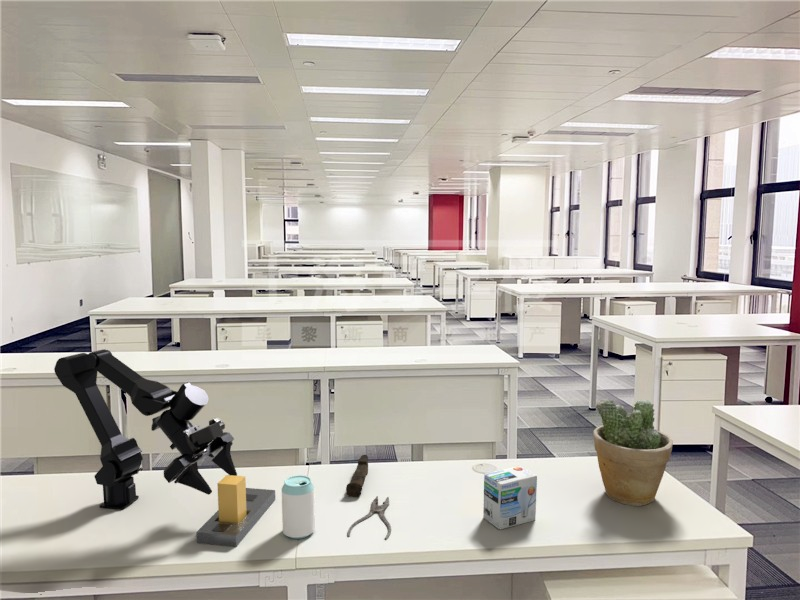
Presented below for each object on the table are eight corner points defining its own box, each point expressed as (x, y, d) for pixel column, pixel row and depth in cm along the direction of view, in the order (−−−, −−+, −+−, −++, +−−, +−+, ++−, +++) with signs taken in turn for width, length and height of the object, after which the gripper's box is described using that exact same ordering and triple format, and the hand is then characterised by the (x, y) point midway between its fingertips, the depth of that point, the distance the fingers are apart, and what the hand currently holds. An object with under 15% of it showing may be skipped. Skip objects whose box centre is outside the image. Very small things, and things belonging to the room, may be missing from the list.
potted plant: (628, 475, 161) (632, 385, 158) (687, 503, 145) (693, 404, 141) (575, 488, 153) (579, 394, 150) (632, 519, 137) (637, 415, 134)
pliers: (346, 539, 128) (350, 496, 147) (346, 542, 128) (350, 500, 148) (391, 537, 128) (389, 495, 148) (391, 541, 128) (389, 499, 148)
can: (316, 524, 135) (315, 473, 133) (312, 540, 128) (311, 487, 126) (285, 524, 135) (284, 473, 133) (280, 540, 128) (278, 487, 126)
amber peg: (219, 530, 132) (217, 483, 131) (228, 520, 137) (226, 475, 135) (238, 532, 131) (236, 484, 130) (246, 522, 136) (245, 476, 134)
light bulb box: (499, 530, 132) (500, 484, 131) (481, 517, 138) (482, 473, 137) (537, 519, 137) (538, 475, 136) (518, 507, 143) (519, 464, 141)
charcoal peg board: (196, 542, 127) (196, 531, 127) (241, 496, 148) (240, 487, 148) (236, 546, 125) (236, 535, 125) (275, 499, 147) (275, 489, 147)
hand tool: (361, 499, 148) (361, 481, 147) (345, 497, 149) (345, 480, 148) (375, 468, 167) (375, 452, 166) (361, 467, 167) (361, 451, 167)
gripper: (171, 423, 125) (217, 480, 122) (225, 398, 142) (267, 448, 140) (143, 454, 128) (188, 511, 126) (200, 427, 146) (240, 476, 143)
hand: (223, 484), depth 134 cm, fingers open, 9 cm apart
